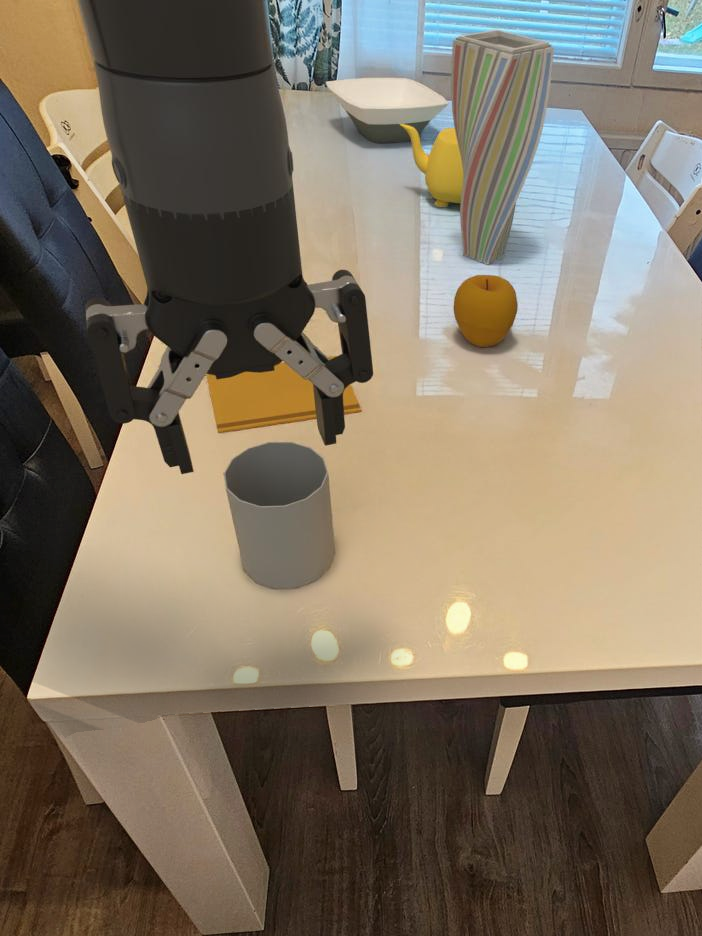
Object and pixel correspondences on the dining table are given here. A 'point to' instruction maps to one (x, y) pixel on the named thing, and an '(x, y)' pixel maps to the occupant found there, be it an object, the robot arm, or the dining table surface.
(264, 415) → the orange rectangular slab
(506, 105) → the vase
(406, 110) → the bowl
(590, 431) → the dining table surface
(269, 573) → the cup
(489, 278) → the apple
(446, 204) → the teapot
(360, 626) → the dining table surface
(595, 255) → the dining table surface
